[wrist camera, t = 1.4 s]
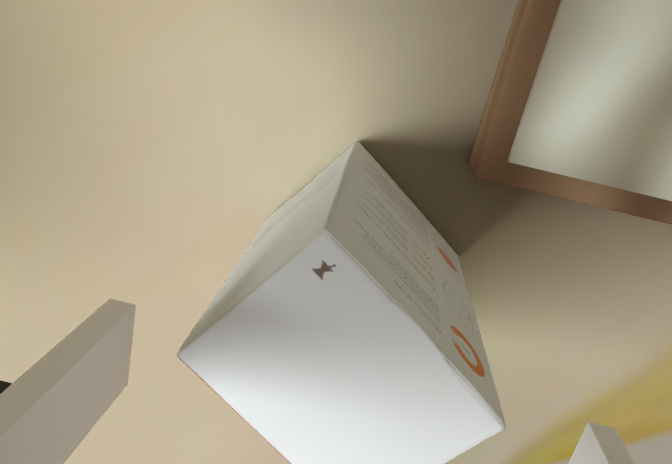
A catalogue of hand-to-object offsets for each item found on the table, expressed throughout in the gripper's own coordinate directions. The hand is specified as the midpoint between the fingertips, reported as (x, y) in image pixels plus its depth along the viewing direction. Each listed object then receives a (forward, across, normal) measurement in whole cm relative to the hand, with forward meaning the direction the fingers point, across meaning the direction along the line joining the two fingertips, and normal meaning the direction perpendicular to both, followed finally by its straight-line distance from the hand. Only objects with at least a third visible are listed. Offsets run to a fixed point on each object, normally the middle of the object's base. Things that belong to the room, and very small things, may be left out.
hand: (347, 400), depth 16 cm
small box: (+14, 0, 0) cm, 14 cm away
